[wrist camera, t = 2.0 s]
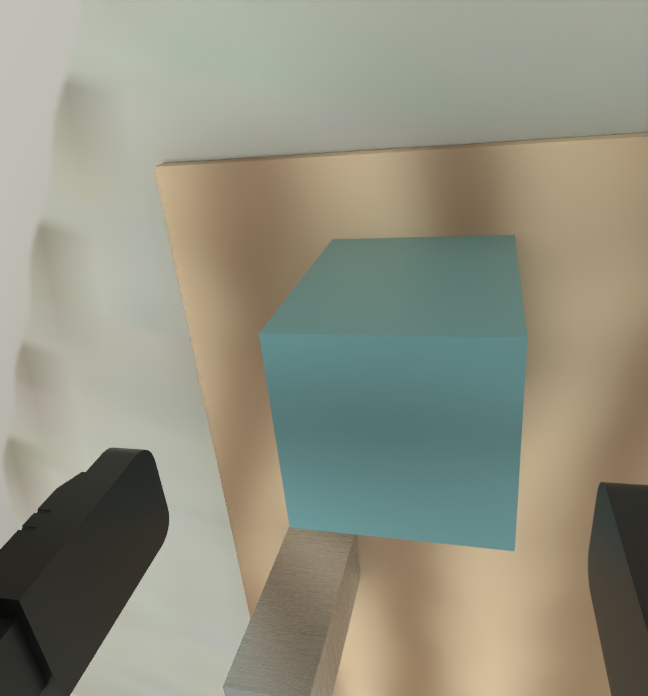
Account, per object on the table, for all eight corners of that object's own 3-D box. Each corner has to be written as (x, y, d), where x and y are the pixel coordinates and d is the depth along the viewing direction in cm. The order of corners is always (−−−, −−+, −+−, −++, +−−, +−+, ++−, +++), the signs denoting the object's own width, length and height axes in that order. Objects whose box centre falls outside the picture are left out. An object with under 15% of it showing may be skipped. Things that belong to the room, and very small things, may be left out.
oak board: (749, 126, 15) (758, 129, 14) (622, 743, 26) (625, 757, 25) (163, 163, 19) (153, 167, 18) (270, 680, 30) (266, 692, 29)
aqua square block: (514, 234, 16) (527, 338, 11) (507, 395, 19) (514, 551, 13) (332, 239, 18) (258, 333, 12) (346, 389, 20) (289, 527, 14)
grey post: (356, 526, 23) (308, 702, 17) (360, 576, 24) (317, 757, 18) (291, 520, 23) (222, 686, 17) (298, 568, 25) (237, 740, 19)
